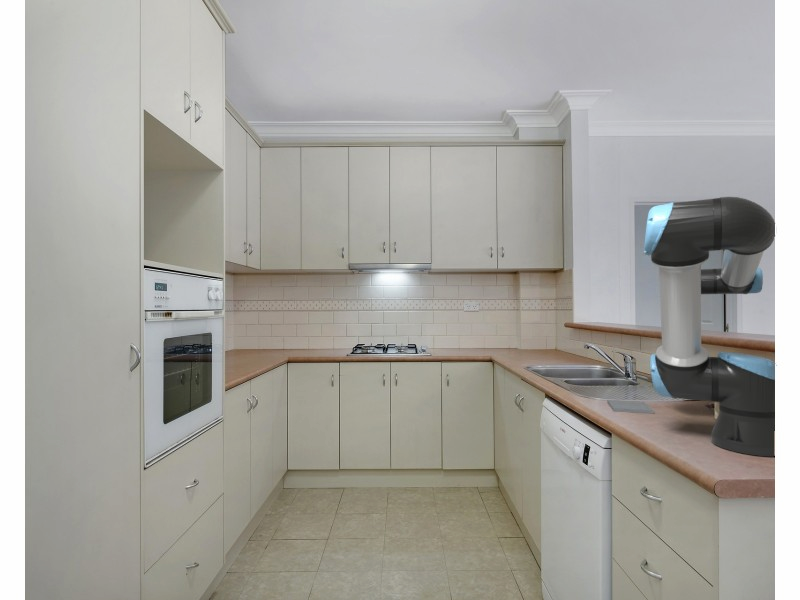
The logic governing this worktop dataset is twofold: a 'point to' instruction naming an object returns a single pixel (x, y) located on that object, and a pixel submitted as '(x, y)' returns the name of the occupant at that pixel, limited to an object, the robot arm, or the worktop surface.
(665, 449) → the worktop surface
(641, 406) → the slate mat
